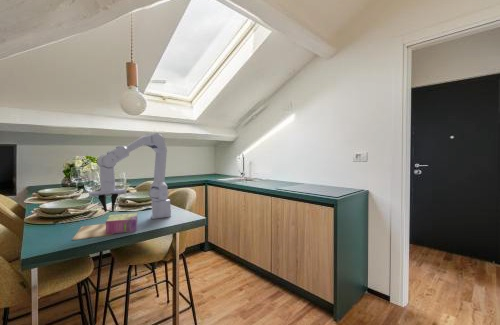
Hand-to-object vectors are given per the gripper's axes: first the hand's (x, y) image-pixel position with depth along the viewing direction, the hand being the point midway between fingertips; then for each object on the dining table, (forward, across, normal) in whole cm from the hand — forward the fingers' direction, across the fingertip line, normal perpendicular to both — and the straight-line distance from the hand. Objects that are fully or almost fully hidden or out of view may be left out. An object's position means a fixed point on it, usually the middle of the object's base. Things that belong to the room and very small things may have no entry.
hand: (109, 211), depth 112 cm
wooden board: (+8, -6, 0) cm, 10 cm away
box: (+5, -1, -3) cm, 6 cm away
